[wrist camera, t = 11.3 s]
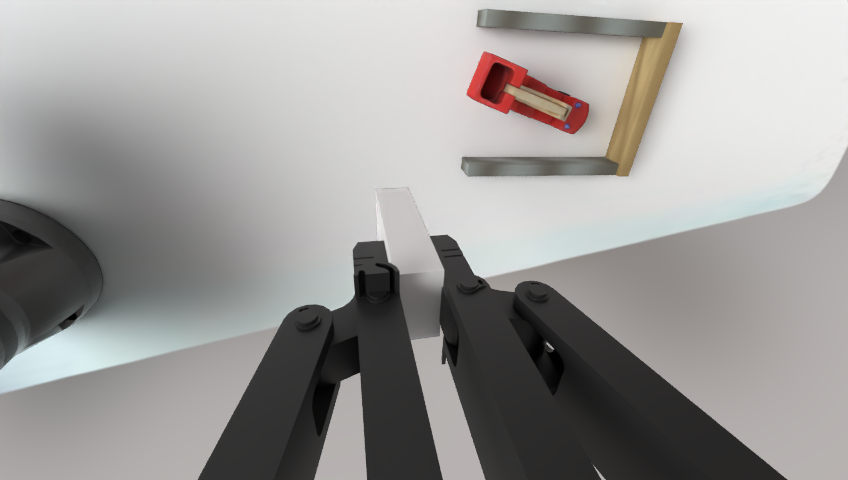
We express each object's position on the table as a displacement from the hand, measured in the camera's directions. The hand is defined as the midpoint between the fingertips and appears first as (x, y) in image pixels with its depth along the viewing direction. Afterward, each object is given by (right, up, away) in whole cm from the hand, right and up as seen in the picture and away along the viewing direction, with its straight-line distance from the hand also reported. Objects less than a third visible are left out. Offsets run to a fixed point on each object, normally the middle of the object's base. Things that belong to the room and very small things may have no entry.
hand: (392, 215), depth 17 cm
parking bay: (+14, +13, +20) cm, 28 cm away
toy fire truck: (+10, +14, +19) cm, 26 cm away
